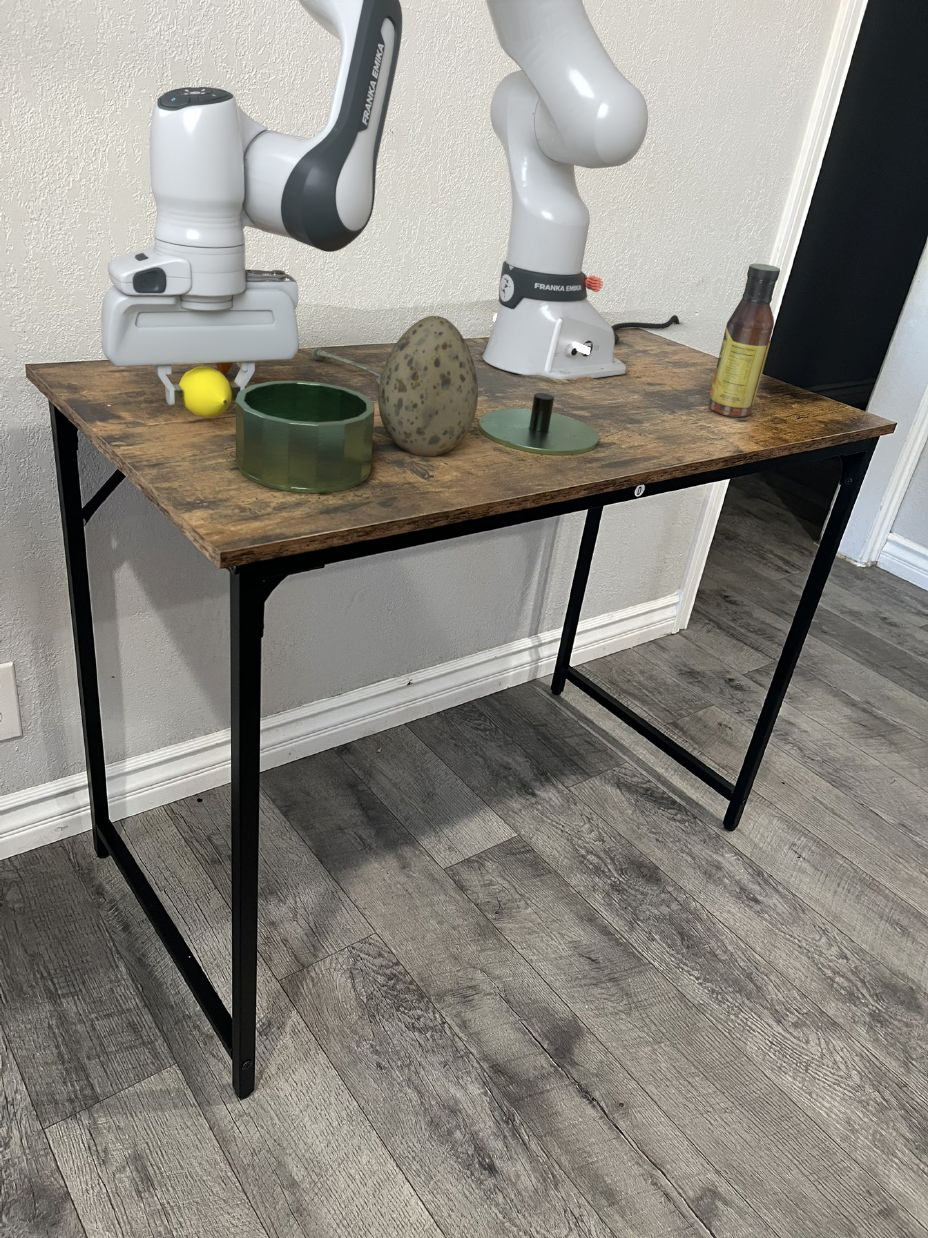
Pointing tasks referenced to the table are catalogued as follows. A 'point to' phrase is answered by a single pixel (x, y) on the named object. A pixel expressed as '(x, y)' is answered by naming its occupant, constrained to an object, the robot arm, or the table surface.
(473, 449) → the table surface
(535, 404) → the pot lid
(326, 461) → the pot
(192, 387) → the lemon
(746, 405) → the sauce bottle
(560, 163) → the robot arm
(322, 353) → the soupspoon
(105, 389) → the table surface
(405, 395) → the decorative egg
